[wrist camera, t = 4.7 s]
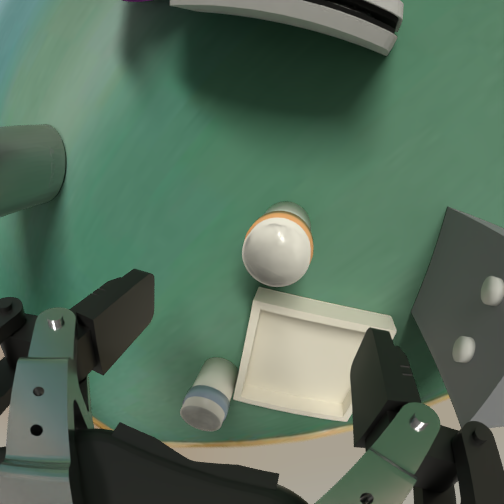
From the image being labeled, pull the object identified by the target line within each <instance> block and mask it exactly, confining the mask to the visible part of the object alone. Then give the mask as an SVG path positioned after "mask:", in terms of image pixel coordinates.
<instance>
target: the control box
mask: <svg viewBox="0 0 504 504" xmlns="http://www.w3.org/2000/svg"><path fill="white" fill-rule="evenodd" d="M411 313H412V315H413V317H414V319H415V321H416V323H417V325H418V327H419V329H420V331H421V333H422V335H423V337H424V339H425V342H426V344H427V346H428V348H429V350H430V352H431V354H432V357H433V359H434V361H435V363H436V366H437V368H438V370H439V372H440V375H441V377H442V379H443V382H444V384H445V387H446V389H447V392H448V394H449V397H450V399H451V402H452V404H453V407H454V409H455V412H456V415H457V417H458V420H459V423H460V426H461V428H462V427H463V426H464V425H465V424H466V423H467V422H470V421H478V422H481V423H483V424H484V425H486V426H487V427H488V428H493V427H502V426H504V228H502V227H499V226H497V225H494V224H492V223H490V222H487V221H485V220H482V219H480V218H477V217H474V216H472V215H469V214H467V213H464V212H461V211H459V210H456V209H453V208H450V207H447V211H446V214H445V218H444V221H443V225H442V228H441V231H440V235H439V238H438V241H437V244H436V247H435V250H434V253H433V256H432V259H431V262H430V265H429V267H428V270H427V273H426V275H425V278H424V281H423V283H422V286H421V288H420V291H419V293H418V296H417V298H416V301H415V303H414V305H413V308H412V310H411Z"/></svg>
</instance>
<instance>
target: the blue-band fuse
mask: <svg viewBox="0 0 504 504" xmlns="http://www.w3.org/2000/svg"><path fill="white" fill-rule="evenodd" d="M238 373H239V372H238V369H237V367H236V366H235V365H234V364H233V363H232V362H230V361H228V360H226V359H224V358H219V357H213V358H209V359H207V360H206V361H205V362H204V364H203V366H202V368H201V370H200V372H199V374H198V376H197V378H196V380H195V382H194V384H193V386H192V387H191V388H190V389H189V391H188V393H187V394H186V396H185V398H184V400H183V406H182V408H181V410H180V414H181V417H182V418H183V419H184V420H185V421H186V422H187V423H188V424H189V425H191V426H193V427H195V428H197V429H200V430H204V431H215V430H218V429H219V428H220V427H221V425H222V423H223V421H224V420H225V419H226V416H227V413H228V410H229V407H230V400H231V397H232V394H233V391H234V388H235V385H236V382H237V378H238Z"/></svg>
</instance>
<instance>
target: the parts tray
mask: <svg viewBox="0 0 504 504" xmlns="http://www.w3.org/2000/svg"><path fill="white" fill-rule="evenodd" d="M370 327H371V328H376V329H381V330H386V331H389V332H390V335H391V338H392V340H393V338H394V336H395V334H396V332H397V330H396V327H395V325H394V322H393V320H392V317H391V316H389V315H384V314H379V313H375V312H370V311H365V310H360V309H355V308H351V307H346V306H341V305H337V304H332V303H328V302H323V301H319V300H314V299H310V298H305V297H301V296H296V295H292V294H288V293H284V292H279V291H275V290H271V289H267V288H262V287H258V290H257V292H256V295H255V297H254V300H253V304H252V309H251V314H250V319H249V324H248V329H247V334H246V339H245V344H244V349H243V354H242V359H241V363H240V368H239V373H238V378H237V383H236V387H235V392H234V397H233V400H237V401H241V402H245V403H249V404H253V405H257V406H261V407H266V408H270V409H274V410H279V411H284V412H289V413H294V414H299V415H305V416H311V417H317V418H323V419H330V420H337V421H344V422H347V420H348V419H349V417H350V416H351V414H352V397H351V383H350V370H351V366H352V362H353V360H354V358H355V355H356V353H357V351H358V349H359V347H360V344H361V342H362V340H363V338H364V335H365V333H366V331H367V329H368V328H370Z"/></svg>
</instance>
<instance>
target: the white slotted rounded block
mask: <svg viewBox="0 0 504 504" xmlns="http://www.w3.org/2000/svg"><path fill="white" fill-rule="evenodd" d="M170 6H174V7H179V8H183V9H188V10H192V11H197V12H208V13H219V14H229V15H237V16H244V17H251V18H257V19H263V20H268V21H273V22H278V23H283V24H288V25H292V26H296V27H300V28H304V29H308V30H312V31H316V32H319V33H323V34H326V35H330V36H333V37H336V38H339V39H342V40H345V41H348V42H351V43H354V44H357V45H360V46H362V47H365V48H368V49H370V50H373V51H375V52H378V53H380V54H383V55H385V56H387V55H388V54H389V52H390V50H391V49H392V47H393V45H394V43H395V41H396V39H397V36H396V35H394V32H398V30H399V28H400V25H401V23H402V20H403V3H402V2H401V1H400V0H170Z"/></svg>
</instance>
